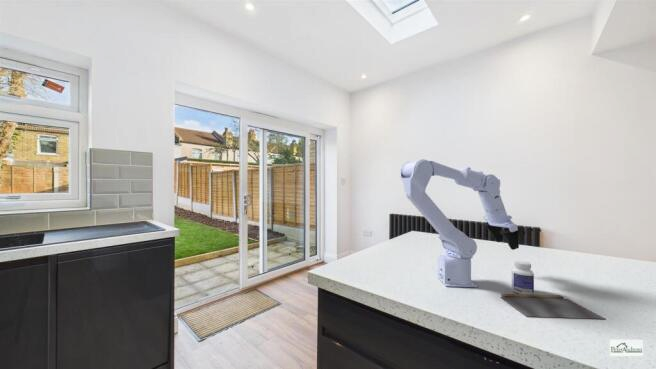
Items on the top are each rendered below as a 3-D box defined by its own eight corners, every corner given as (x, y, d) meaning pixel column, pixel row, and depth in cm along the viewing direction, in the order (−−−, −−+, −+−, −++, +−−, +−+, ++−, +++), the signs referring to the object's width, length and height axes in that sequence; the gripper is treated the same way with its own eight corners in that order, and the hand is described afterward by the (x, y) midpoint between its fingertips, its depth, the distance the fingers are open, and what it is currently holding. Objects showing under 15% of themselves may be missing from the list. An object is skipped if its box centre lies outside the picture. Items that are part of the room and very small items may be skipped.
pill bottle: (538, 296, 71) (538, 265, 71) (517, 294, 72) (517, 264, 72) (527, 288, 77) (527, 260, 76) (508, 287, 78) (508, 259, 78)
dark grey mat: (526, 316, 61) (526, 314, 61) (497, 295, 72) (497, 293, 72) (605, 319, 59) (605, 316, 59) (563, 297, 71) (563, 295, 71)
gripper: (521, 207, 76) (535, 247, 77) (492, 200, 90) (505, 234, 91) (498, 216, 77) (513, 255, 77) (473, 207, 91) (486, 240, 92)
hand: (507, 244), depth 84 cm, fingers open, 7 cm apart
